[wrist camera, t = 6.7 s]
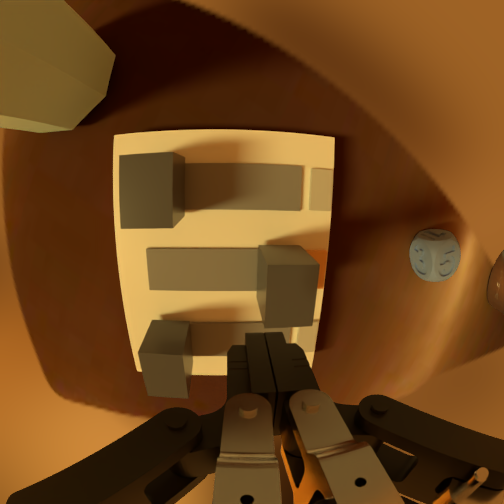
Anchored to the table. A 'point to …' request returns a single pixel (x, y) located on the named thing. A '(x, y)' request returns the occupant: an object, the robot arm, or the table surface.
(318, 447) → the robot arm
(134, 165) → the block
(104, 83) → the water bottle
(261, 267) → the block
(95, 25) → the table surface
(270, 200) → the breaker panel
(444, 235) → the decorative dice
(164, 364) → the block
